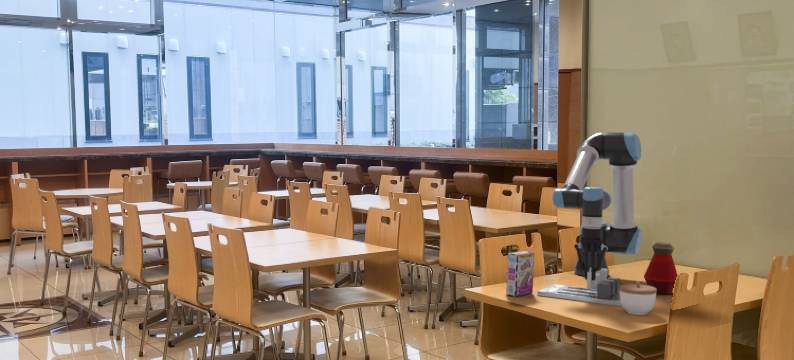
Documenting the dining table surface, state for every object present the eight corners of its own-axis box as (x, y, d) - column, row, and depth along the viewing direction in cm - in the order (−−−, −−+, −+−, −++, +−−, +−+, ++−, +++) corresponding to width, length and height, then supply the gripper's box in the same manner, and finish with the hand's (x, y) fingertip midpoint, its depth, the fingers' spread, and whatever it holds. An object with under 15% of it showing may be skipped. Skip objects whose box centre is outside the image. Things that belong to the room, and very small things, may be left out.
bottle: (646, 287, 323) (648, 239, 322) (680, 291, 317) (682, 242, 316) (640, 294, 309) (641, 243, 308) (676, 298, 303) (678, 246, 302)
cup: (608, 292, 312) (608, 272, 311) (587, 291, 313) (588, 271, 313) (606, 287, 322) (607, 268, 322) (586, 286, 324) (587, 267, 323)
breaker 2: (604, 293, 300) (605, 279, 299) (614, 294, 298) (615, 280, 297) (601, 294, 297) (602, 280, 296) (612, 295, 294) (612, 281, 294)
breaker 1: (599, 295, 295) (600, 281, 294) (610, 296, 292) (611, 282, 292) (596, 297, 292) (597, 282, 291) (607, 298, 289) (608, 284, 289)
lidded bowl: (634, 318, 267) (636, 286, 267) (610, 310, 279) (612, 279, 278) (663, 315, 272) (664, 284, 272) (638, 307, 284) (640, 277, 283)
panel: (553, 288, 318) (554, 283, 318) (638, 298, 300) (638, 294, 300) (537, 295, 303) (537, 290, 303) (625, 306, 285) (625, 302, 285)
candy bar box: (516, 297, 298) (517, 254, 297) (505, 295, 301) (507, 253, 300) (533, 293, 305) (535, 252, 305) (523, 291, 309) (524, 250, 308)
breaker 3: (609, 290, 305) (609, 276, 304) (619, 291, 303) (620, 278, 302) (606, 292, 302) (607, 278, 301) (616, 293, 300) (617, 279, 299)
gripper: (572, 227, 300) (570, 288, 301) (605, 229, 293) (603, 292, 294) (578, 225, 306) (576, 284, 308) (611, 227, 299) (609, 288, 301)
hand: (589, 288), depth 301 cm, fingers closed
